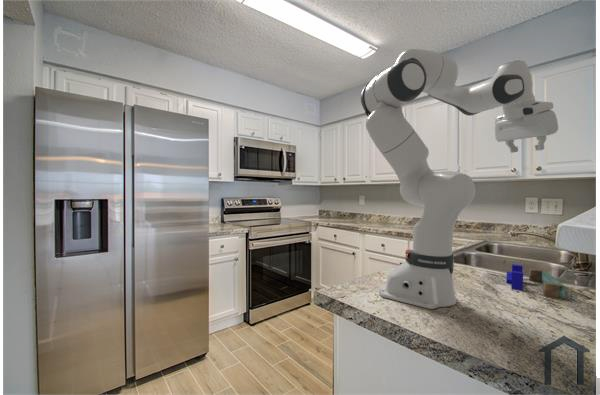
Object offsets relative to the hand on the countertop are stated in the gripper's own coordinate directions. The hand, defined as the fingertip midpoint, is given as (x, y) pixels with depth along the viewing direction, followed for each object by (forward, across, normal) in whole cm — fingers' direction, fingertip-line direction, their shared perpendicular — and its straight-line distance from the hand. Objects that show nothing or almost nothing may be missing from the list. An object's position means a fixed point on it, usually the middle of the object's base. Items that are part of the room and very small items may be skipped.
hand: (526, 151), depth 98 cm
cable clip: (+45, 0, -15) cm, 47 cm away
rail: (+46, +5, -8) cm, 47 cm away
